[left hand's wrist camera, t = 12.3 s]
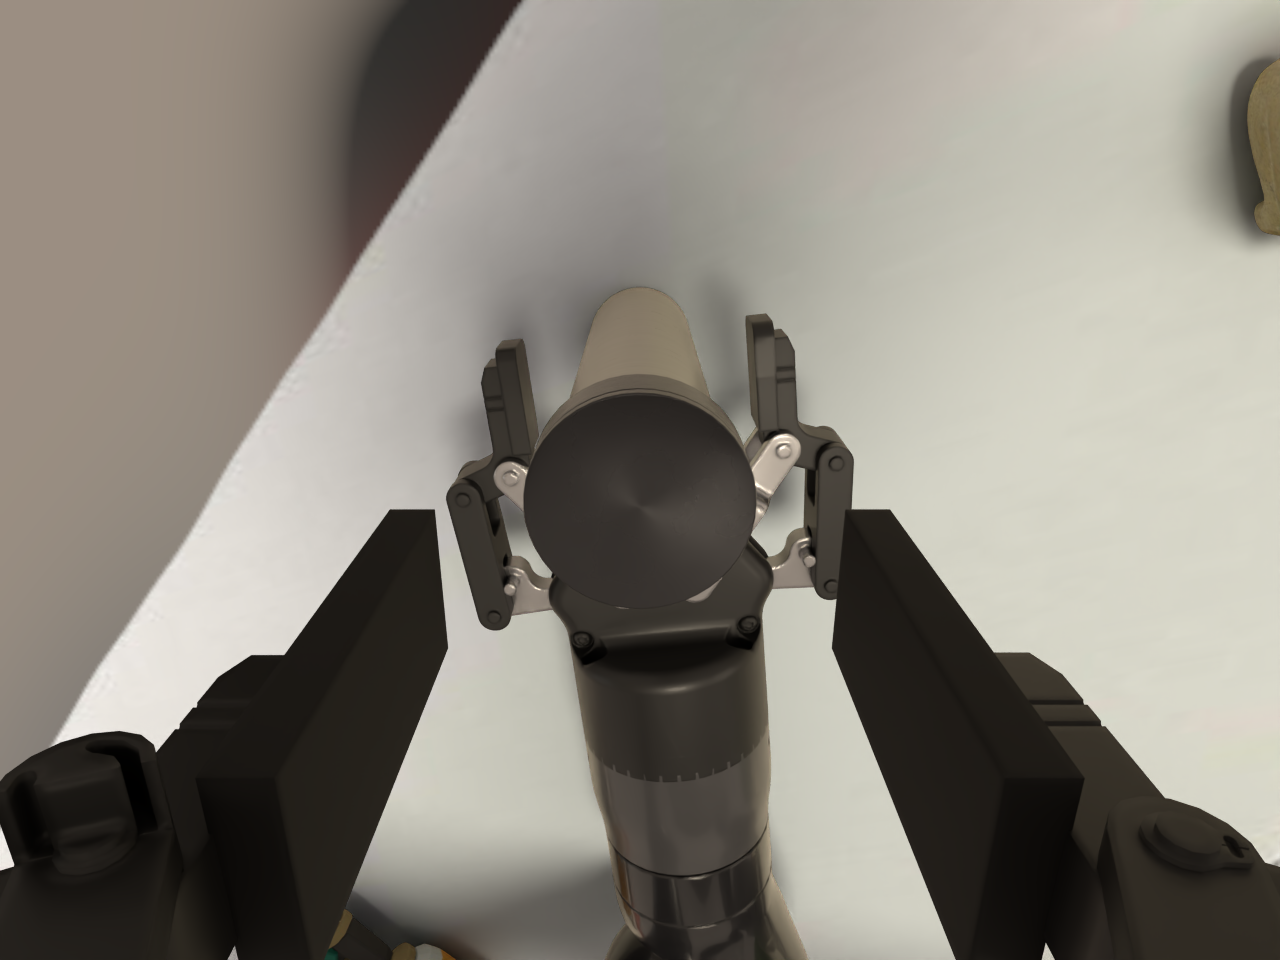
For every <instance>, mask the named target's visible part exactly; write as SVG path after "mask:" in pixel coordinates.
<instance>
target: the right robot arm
mask: <svg viewBox="0 0 1280 960" xmlns="http://www.w3.org/2000/svg"><path fill="white" fill-rule="evenodd" d="M746 339H747V355H748V371H749V388H750V404H751V415H752V417H753V420H754V422H755V424H756V428H755V429H754V430H753V432H752V433H751V435H750V436H749V438H748V439H747V441H746V442H745V444H744V445H743V446H744V449H745V452H746V454H747V457H748V460H749V463H750V466H751V469H752V472H753V475H754V479H755V485H756V493H757V508H756V517H755V522H754V526H753V530H754V528H755V527H756V526H757V524H758V523H759V521H760V520H761V519H762V517H763V516H764V514H765V513H766V511H767V509H768V506H769V502H770V499H771V497H772V495H773V493H774V492H775V491H776V489H777V488H778V486H779V485H780V483H781V482H782V481H783V479H784V478H785V476H786V475H787V474H788V472H789V471H790V469H791V468H792V467H793V466H796V467H801V468H805V493H804V528H798V529H796V530H794V531H792V532H791V533H790V534H789V535H788V537H787V539H786V545H785V547H784V549H783V550H782V551H781V552H780V553H779V554H777V555H775V556H771V557H768V555H767V553H766V552H765V550H764V549H763V548H762V547H761V546H760V545H759V544H758V543H757V541H756V540H755V539H754V538H753V537H752V536H751V535H750V538H749V540H748V543H747V545H746V547H745V549H744V550H743V552H742V554H741V556H740V557H739V559H738V560H737V561H736V563H735V564H734V565H733V567H732V568H731V569H730V570H729V571H728V572H727V573H726V574H725V575H724V576H723V577H722V578H721V579H720V580H719V581H717V582H716V583H715V584H714V585H712V586H711V587H710V588H708V589H706V590H705V591H703V592H701V593H700V594H698V595H696V596H694V597H692V598H689V599H687V600H685V601H682V602H679V603H676V604H673V605H669V606H663V607H658V608H647V609H633V608H623V607H616V606H611V605H608V604H604V603H601V602H598V601H595V600H593V599H590V598H588V597H586V596H584V595H582V594H580V593H579V592H577V591H575V590H573V589H572V588H571V587H569V586H568V585H566V584H565V583H564V582H562V581H561V580H560V579H559V578H558V577H557V576H556V575H555V574H554V573H552V576H551V578H544V577H541V576H539V575H537V574H536V573H535V572H534V571H533V570H532V568H531V565H530V564H529V562H528V561H527V560H526V559H524V558H523V557H521V556H512V553H511V549H510V545H509V541H508V537H507V533H506V529H505V525H504V521H503V517H502V513H501V509H500V505H499V501H498V497H500V496H503V495H506V496H507V497H508V498H509V499H510V500H511V501H513V502H514V503H515V504H516V505H517V506H518V507H519V508H520V509H521V510H522V511H523V512H524V510H523V492H524V484H525V478H526V475H527V472H528V468H529V465H530V462H531V459H532V457H533V454H534V451H535V448H534V447H535V445H536V442H537V439H538V437H539V432H538V426H537V420H536V413H535V407H534V401H533V394H532V388H531V382H530V375H529V369H528V363H527V356H526V350H525V345H524V341H523V339H514V340H505V341H502V342H501V343H500V344H499V346H498V347H497V348H496V354H495V355H496V358H494V359H491V360H490V361H489V363H488V364H487V365H486V366H485V368H484V372H483V376H482V381H481V385H482V391H483V396H484V402H485V407H486V413H487V419H488V424H489V430H490V435H491V441H492V446H493V453H492V454H491V455H489V456H487V457H485V458H483V459H481V460H479V461H470V462H467V463H466V464H465V465H464V466H463V467H462V468H461V470H460V472H459V474H458V477H457V479H456V481H455V482H454V483H453V484H452V486H451V487H450V489H449V490H448V492H447V496H446V501H447V505H448V509H449V512H450V516H451V520H452V523H453V527H454V531H455V534H456V538H457V541H458V545H459V549H460V552H461V556H462V560H463V563H464V567H465V571H466V574H467V578H468V582H469V585H470V589H471V593H472V596H473V600H474V604H475V607H476V611H477V615H478V618H479V621H480V623H481V624H482V625H483V626H484V627H485V628H487V629H490V630H501V629H503V628H505V627H506V626H507V625H508V624H509V622H510V619H511V616H513V615H519V614H526V613H533V612H540V611H546V610H553V611H554V612H555V613H556V614H557V615H558V617H559V618H560V619H561V620H562V622H563V623H564V625H565V627H566V629H567V632H568V635H569V640H570V646H571V653H572V659H573V665H574V671H575V678H576V684H577V690H578V697H579V703H580V709H581V715H582V722H583V728H584V735H585V741H586V747H587V753H588V759H589V765H590V772H591V778H592V783H593V788H594V792H595V795H596V799H597V802H598V805H599V808H600V811H601V813H602V816H603V819H604V824H605V828H606V834H607V841H608V847H609V853H610V860H611V866H612V872H613V880H614V885H615V891H616V896H617V900H618V904H619V907H620V910H621V912H622V915H623V917H624V920H625V922H626V924H625V925H624V926H623V927H622V928H621V929H620V931H619V932H618V933H617V935H616V936H615V938H614V940H613V942H612V944H611V946H610V948H609V950H608V953H607V955H606V957H605V960H808V957H807V954H806V951H805V949H804V947H803V944H802V942H801V939H800V937H799V935H798V932H797V930H796V928H795V925H794V923H793V921H792V918H791V916H790V913H789V911H788V908H787V906H786V903H785V901H784V898H783V896H782V893H781V891H780V889H779V887H778V885H777V883H776V881H775V879H774V877H773V874H772V865H771V846H770V831H769V815H768V800H769V791H770V782H771V752H770V737H769V722H768V703H767V687H766V672H765V656H764V640H763V624H762V611H763V607H764V604H765V601H766V599H767V597H768V596H769V594H770V592H771V590H772V589H780V588H805V587H814V588H815V591H816V593H817V594H818V595H819V596H820V597H821V598H823V599H826V600H834V599H837V590H838V580H839V569H840V559H841V548H842V538H843V528H844V517H845V510H851V508H852V488H853V468H854V459H853V456H852V454H851V452H850V451H849V450H848V448H847V447H846V446H845V444H844V443H843V441H842V440H841V439H840V437H839V436H838V435H837V433H836V432H835V431H834V430H833V429H832V428H830V427H827V426H819V427H814V426H809V425H805V424H802V423H800V422H799V421H798V419H797V398H796V374H795V351H794V349H793V347H792V344H791V342H790V340H789V338H788V336H787V335H786V334H785V333H784V332H783V330H782V329H776V330H774V327H773V322H772V320H771V319H770V317H769V316H768V315H767V314H757V315H748V316H746ZM753 530H752V531H753Z"/></svg>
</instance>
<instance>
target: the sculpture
mask: <svg viewBox="0 0 1280 960" xmlns="http://www.w3.org/2000/svg"><path fill="white" fill-rule="evenodd" d="M1247 122H1248V134H1249V139H1250V144H1251V149H1252V154H1253V158H1254V162H1255V165H1256V169H1257V172H1258V175H1259V178H1260V182H1261V186H1262V190H1263V193H1264V201H1262V202H1260V203H1258V204H1257V206H1256V207H1255V211H1254V216H1255V220H1256V223H1257V225H1258V227H1259V228H1260V229H1261V230H1262V231H1263V232H1265V233H1268V234H1273V235H1279V236H1280V59H1278V60H1277V61H1275V62H1274V63H1272V64H1271V65H1269V66H1268V67H1267V68H1266V69H1265V70H1264V71H1263V72H1262V73H1261V74H1260V76H1259V77H1258V79H1257V81H1256V83H1255V85H1254V87H1253V90H1252V92H1251V95H1250V99H1249V104H1248V113H1247Z"/></svg>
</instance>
